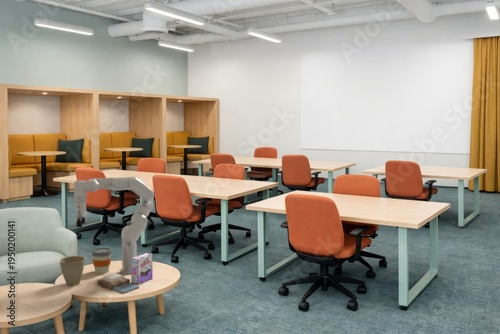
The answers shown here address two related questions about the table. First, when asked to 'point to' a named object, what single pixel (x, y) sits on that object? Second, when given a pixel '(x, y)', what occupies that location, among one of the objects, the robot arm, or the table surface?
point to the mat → (125, 288)
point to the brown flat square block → (112, 285)
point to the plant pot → (72, 269)
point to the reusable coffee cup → (101, 260)
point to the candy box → (141, 268)
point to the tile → (112, 277)
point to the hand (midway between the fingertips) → (80, 225)
